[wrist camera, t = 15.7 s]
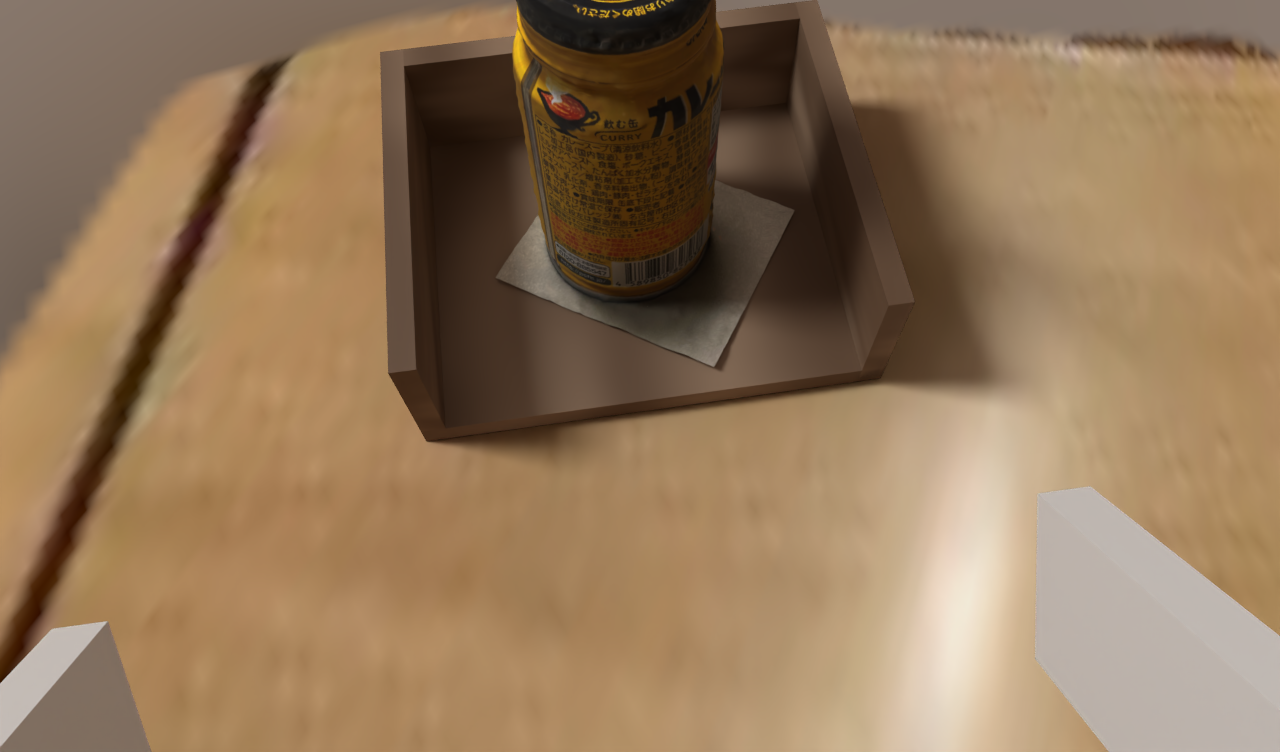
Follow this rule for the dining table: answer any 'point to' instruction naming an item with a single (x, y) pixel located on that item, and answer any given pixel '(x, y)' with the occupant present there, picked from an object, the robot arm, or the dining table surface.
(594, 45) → the condiment
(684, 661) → the dining table surface
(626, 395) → the caddy
